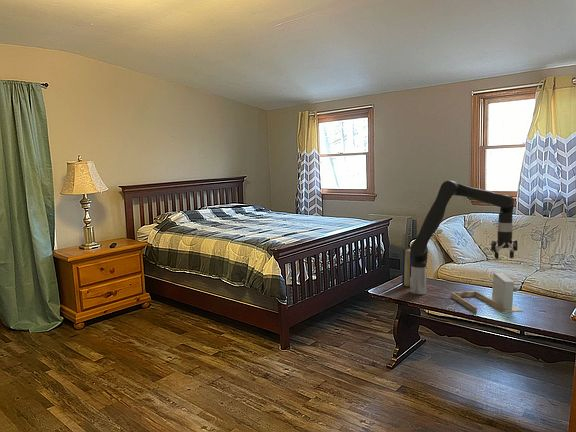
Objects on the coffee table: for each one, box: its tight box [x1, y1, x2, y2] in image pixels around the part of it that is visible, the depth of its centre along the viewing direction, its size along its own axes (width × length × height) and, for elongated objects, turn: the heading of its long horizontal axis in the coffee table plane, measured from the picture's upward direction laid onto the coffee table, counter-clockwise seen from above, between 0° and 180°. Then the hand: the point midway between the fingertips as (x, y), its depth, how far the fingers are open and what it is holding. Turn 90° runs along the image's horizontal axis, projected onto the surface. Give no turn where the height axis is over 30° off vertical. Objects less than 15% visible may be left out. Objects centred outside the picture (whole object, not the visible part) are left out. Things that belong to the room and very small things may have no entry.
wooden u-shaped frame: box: [450, 290, 504, 314], centre depth 254 cm, size 16×29×3 cm, turn 4°
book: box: [401, 247, 413, 287], centre depth 297 cm, size 22×7×25 cm, turn 134°
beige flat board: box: [489, 296, 524, 313], centre depth 251 cm, size 10×24×1 cm, turn 4°
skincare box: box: [491, 272, 515, 309], centre depth 251 cm, size 21×6×16 cm, turn 171°
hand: (503, 258), depth 248 cm, fingers open, 8 cm apart
